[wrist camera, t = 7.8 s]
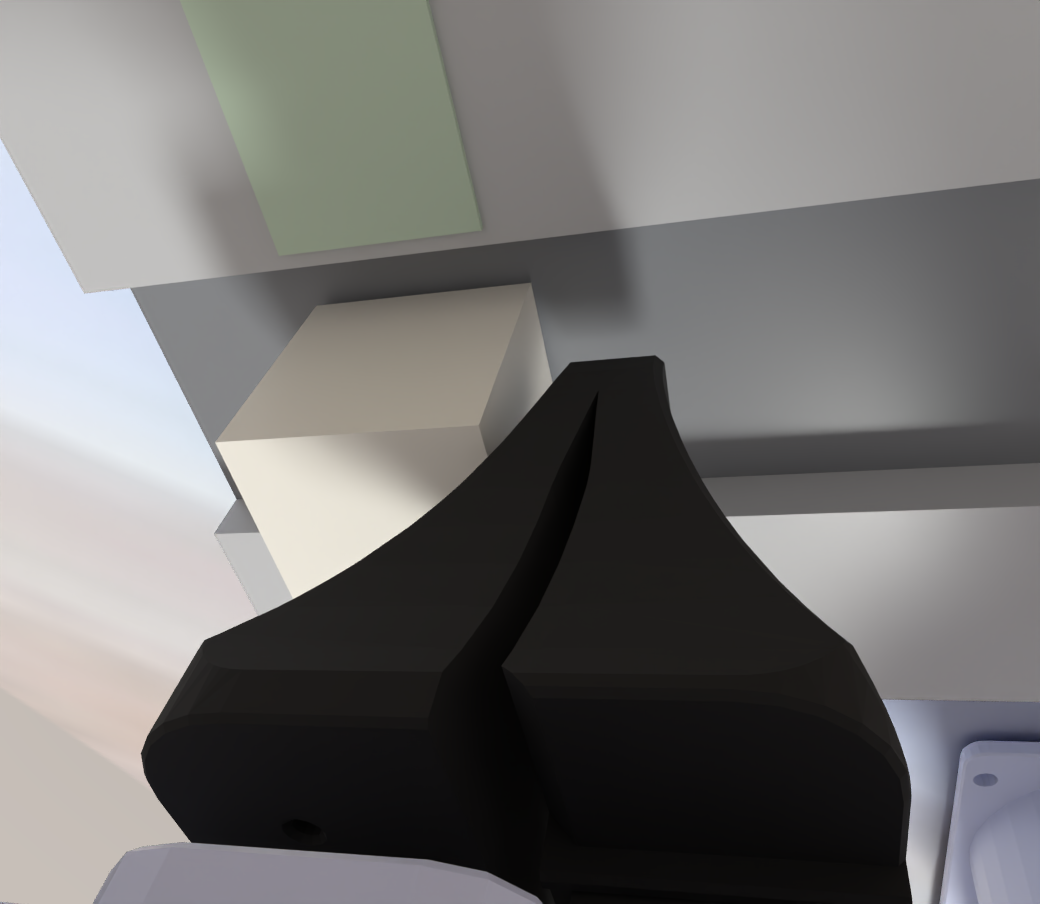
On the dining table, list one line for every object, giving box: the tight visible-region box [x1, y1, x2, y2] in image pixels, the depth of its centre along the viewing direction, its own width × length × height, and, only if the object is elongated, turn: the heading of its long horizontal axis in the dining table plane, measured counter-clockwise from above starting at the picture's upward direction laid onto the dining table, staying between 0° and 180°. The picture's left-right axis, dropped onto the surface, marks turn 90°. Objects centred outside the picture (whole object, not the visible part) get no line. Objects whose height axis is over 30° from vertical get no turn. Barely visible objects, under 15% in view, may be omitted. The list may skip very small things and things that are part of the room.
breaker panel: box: [0, 0, 1040, 702], centre depth 13 cm, size 16×24×3 cm, turn 102°
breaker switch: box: [215, 283, 552, 599], centre depth 13 cm, size 3×4×4 cm
